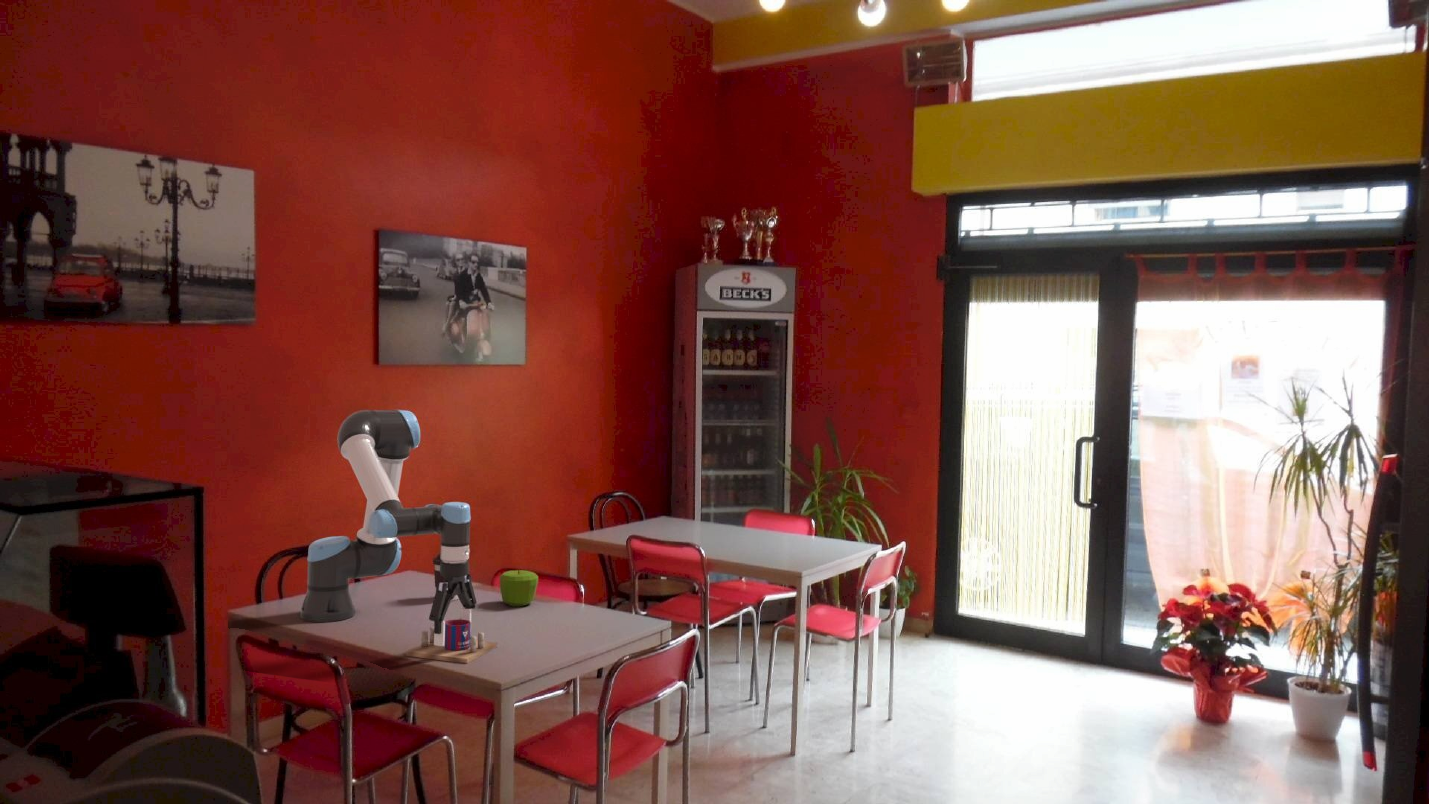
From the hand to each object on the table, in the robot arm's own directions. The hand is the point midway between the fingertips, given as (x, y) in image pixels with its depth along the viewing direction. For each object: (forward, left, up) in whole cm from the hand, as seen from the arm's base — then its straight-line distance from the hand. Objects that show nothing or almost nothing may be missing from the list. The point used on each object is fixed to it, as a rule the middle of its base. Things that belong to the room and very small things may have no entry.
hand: (452, 638), depth 263 cm
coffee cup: (-32, +51, -4) cm, 60 cm away
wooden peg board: (0, 0, -3) cm, 3 cm away
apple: (-8, +54, -4) cm, 55 cm away
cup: (0, +1, -2) cm, 2 cm away
